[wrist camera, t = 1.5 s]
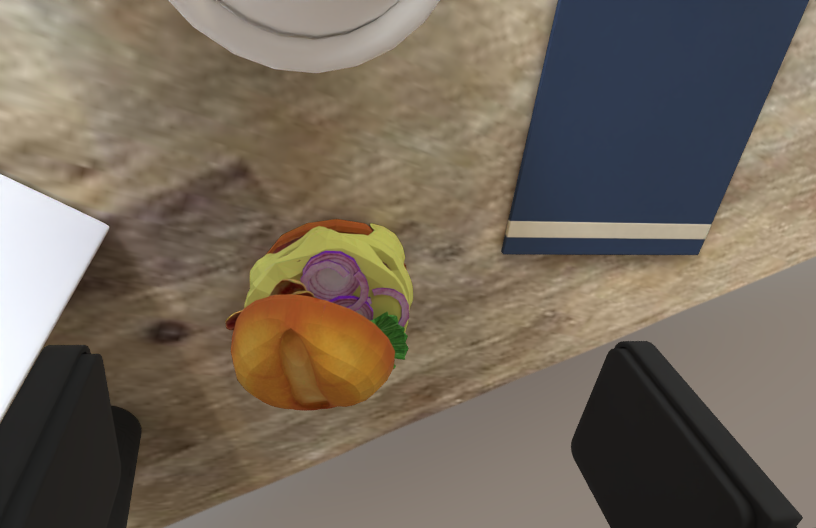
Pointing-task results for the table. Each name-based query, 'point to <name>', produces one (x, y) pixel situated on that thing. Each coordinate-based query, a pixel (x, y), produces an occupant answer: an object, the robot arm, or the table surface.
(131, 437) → the drinking cup
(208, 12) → the honey pot
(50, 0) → the table surface
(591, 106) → the dish cloth
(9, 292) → the milk carton
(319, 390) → the cheeseburger
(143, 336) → the table surface
